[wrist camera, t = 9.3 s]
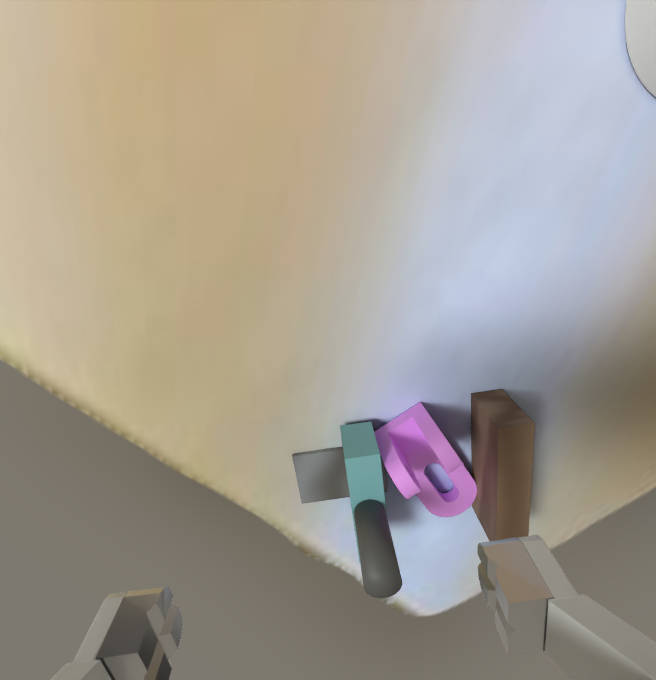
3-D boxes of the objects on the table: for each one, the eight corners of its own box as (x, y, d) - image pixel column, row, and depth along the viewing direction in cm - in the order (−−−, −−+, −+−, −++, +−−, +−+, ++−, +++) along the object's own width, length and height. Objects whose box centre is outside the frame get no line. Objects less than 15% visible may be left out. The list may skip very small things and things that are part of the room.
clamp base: (502, 388, 39) (534, 423, 33) (499, 502, 44) (527, 548, 38) (285, 419, 39) (281, 459, 33) (307, 529, 44) (307, 579, 38)
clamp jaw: (371, 421, 38) (397, 518, 27) (382, 517, 43) (408, 635, 31) (340, 425, 38) (353, 524, 27) (354, 521, 43) (370, 641, 31)
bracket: (371, 433, 39) (390, 479, 33) (420, 401, 39) (448, 442, 32) (435, 516, 43) (462, 571, 37) (479, 488, 43) (515, 540, 36)
